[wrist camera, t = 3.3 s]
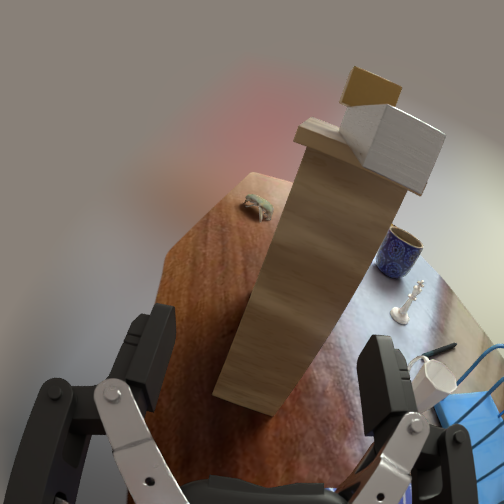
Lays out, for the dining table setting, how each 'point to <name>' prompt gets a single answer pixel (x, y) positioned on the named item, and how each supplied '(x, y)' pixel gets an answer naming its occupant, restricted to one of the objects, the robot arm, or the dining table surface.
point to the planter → (398, 253)
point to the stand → (308, 268)
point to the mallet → (387, 131)
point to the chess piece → (406, 305)
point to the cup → (431, 383)
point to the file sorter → (480, 434)
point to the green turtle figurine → (260, 205)
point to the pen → (439, 350)
